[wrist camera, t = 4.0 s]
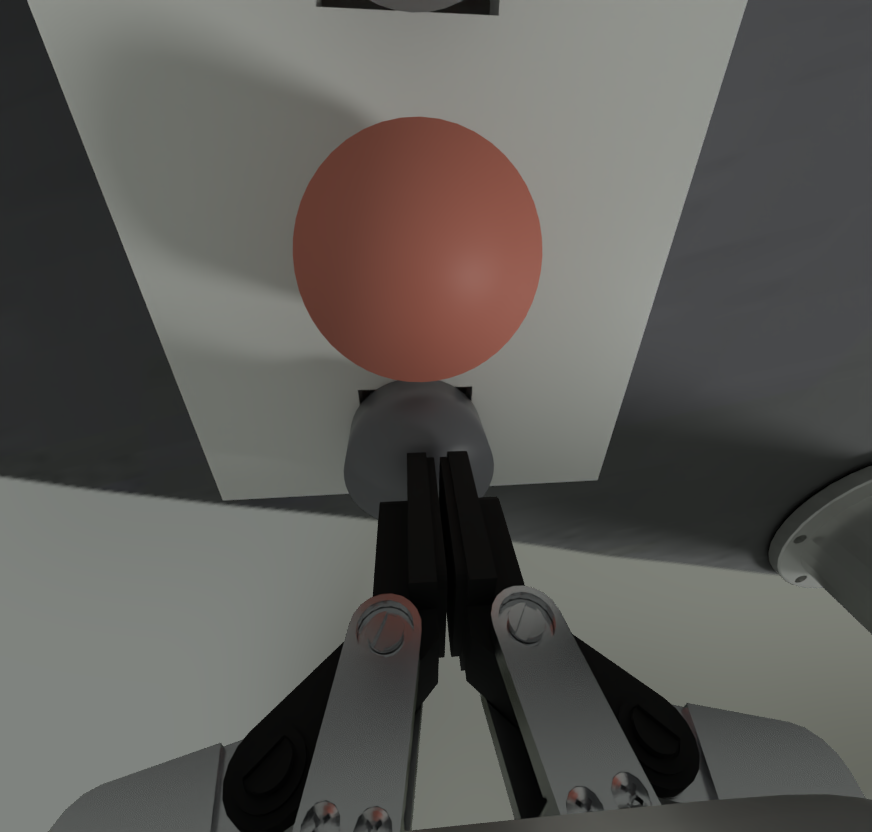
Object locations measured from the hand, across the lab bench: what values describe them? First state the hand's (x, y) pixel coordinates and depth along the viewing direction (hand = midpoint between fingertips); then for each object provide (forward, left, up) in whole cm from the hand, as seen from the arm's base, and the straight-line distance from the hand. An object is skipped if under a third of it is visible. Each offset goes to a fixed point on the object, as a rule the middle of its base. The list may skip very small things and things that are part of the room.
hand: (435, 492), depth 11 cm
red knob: (0, -6, -5) cm, 8 cm away
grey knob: (0, 0, -6) cm, 6 cm away
